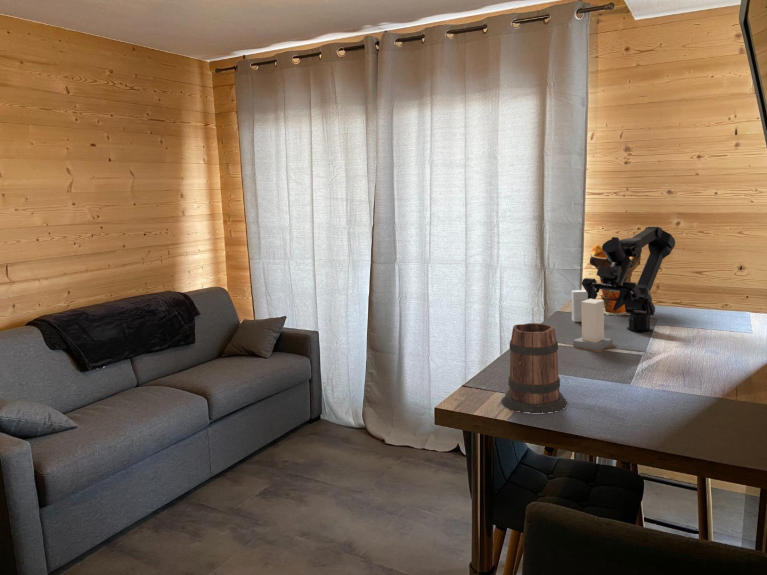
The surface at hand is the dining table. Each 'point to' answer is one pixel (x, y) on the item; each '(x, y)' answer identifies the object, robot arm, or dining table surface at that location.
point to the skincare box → (578, 304)
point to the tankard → (533, 370)
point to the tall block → (592, 320)
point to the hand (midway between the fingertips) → (601, 308)
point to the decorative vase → (608, 296)
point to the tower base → (594, 350)
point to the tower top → (593, 344)
